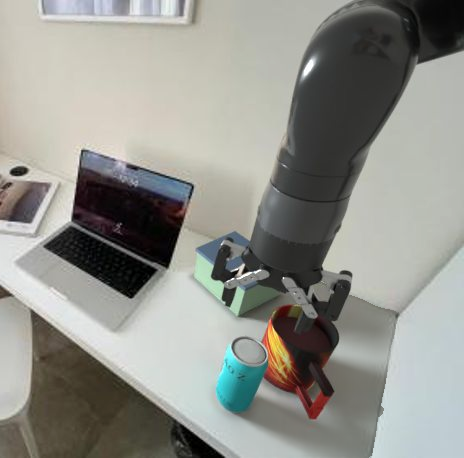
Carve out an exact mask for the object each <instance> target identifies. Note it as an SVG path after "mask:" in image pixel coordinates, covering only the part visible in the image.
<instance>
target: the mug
mask: <svg viewBox="0 0 464 458" xmlns="http://www.w3.org/2000/svg"><path fill="white" fill-rule="evenodd" d="M301 311H302V308H301V306H300V305H297V304H296V303H293V304H291V303H290V304H289V303H288V304H283V305H281V306H278V307H277V308H275V309H274V310H273V311H272V314H271V315H270V318H269V321H268V324H267V327H266V329H265V332H264V334H263V337H262V339H261V341H260V342H261V343H262V344H263V345H264V346H265V347H266V349H267V351H268V355H269V356H268V361H269V362H268V367H267V369H266V371H265V374H264V376H263V379H264V380H266V381H267V382H268V383H269V384H270V385H272V386H273V387H275V388H277V389H279V390H282V391H284V392H289V393H294V394H295V393H296V394H297V396H298V399H299V400H300V403H301V404H302V406H303V408H304V410H305V412H306V414H307V417H308V418H309V419H308V420H317V419H318V417H319V416H320V414H321V413H322V412H323V411H324V408H325V406H326V404H327V403H328V402H329V400H330V399H331V398H332V396H333V394H334V393H335V391H336V390H335V389H334V387H333V385H332V383H331V382H330V380H329V379H328V376H326V374H325V371H324V370H323V369H324V368H325V366H326V364H327V363H328V362H329V360H330V359H331V357H332V355H333V353H334V352H335V350H336V348H337V347H338V344H339V342H340V333H339V330H338V327H336V324H334V322H333V321H329V320H327V319H326V318H325V317H317V318H316V319H315V321H314V323H313V325H312V327H311V329H310V331H308V332H304V331H302V332H301V334H298V333H296V332H294V330H295V327H296V323H297V320H298V318H299V316H300V313H301ZM315 383H316V384H317V386H318V387H319V389H320V391H319V393H318V394H317V396H316V398H315V399H314V401H313V400H312V398H311V396H310V395H309V393H308V391H309V390H310V389H312V387H313V386H314V385H315Z"/></svg>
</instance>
